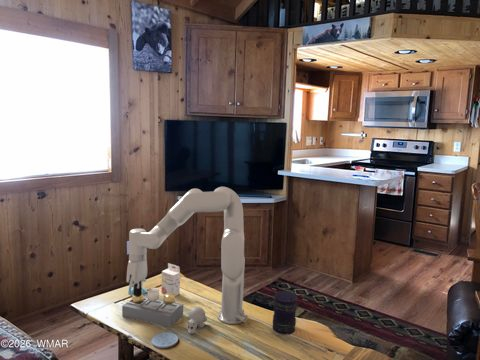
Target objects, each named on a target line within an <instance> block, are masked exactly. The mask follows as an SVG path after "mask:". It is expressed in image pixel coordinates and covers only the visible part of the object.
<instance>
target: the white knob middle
mask: <svg viewBox="0 0 480 360" xmlns="http://www.w3.org/2000/svg"><path fill="white" fill-rule="evenodd" d="M147 291H148V293H147V297H148V300H149V301H156V300H158V299H160V288H158V287H150V288H148V289H147Z"/></svg>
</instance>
